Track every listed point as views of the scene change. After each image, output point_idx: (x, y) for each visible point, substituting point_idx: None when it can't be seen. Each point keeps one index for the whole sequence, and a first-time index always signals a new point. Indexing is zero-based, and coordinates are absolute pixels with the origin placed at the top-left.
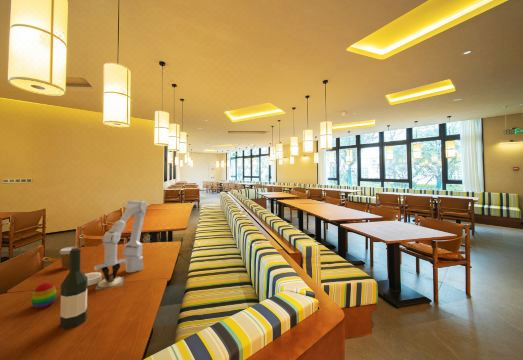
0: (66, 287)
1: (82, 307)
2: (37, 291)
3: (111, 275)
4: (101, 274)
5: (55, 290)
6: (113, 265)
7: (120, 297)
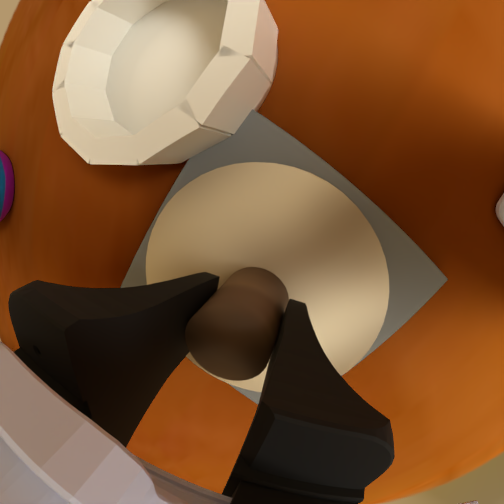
0: None
1: None
2: None
3: (219, 375)
4: (238, 78)
5: None
6: (202, 496)
7: (198, 451)
